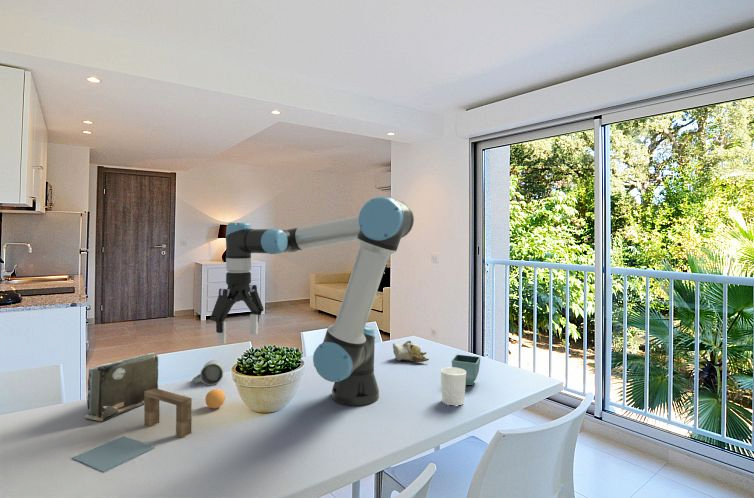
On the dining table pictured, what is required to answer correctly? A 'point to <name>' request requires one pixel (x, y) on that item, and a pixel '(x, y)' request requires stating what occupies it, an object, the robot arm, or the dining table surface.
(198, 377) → the ceramic mug
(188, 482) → the dining table surface
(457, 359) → the flower pot
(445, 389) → the white cup
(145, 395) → the bridge
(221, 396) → the ball
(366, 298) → the robot arm
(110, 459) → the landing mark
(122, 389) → the radio
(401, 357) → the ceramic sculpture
